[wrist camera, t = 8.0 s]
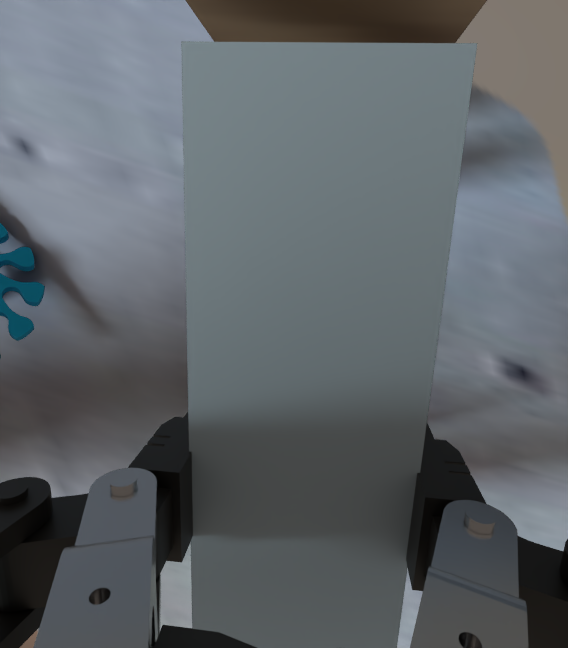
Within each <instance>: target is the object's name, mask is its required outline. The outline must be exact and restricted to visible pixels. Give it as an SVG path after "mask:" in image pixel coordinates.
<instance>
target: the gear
mask: <svg viewBox="0 0 568 648" xmlns="http://www.w3.org/2000/svg"><path fill="white" fill-rule="evenodd" d="M8 238H9V237H8V232H7V230H6V228H5V227H4V226H3V225H2V224H1V223H0V244H1V243H4V242H6V241H7V240H8ZM4 265H12V266H14V267H16V268H18V269H19V270H22V271H31V270H33V269H34V256H33V253H32V251H31V248H29V247H20V248H18V249H16V250H15V251H12V252H10V253H6V254H0V267H2V266H4ZM44 289H45V286H44V285H43V284H41V283H38V282H18V281H15V280H12V279H10V278H8V277H6V276H4V275H2V274H1V273H0V316H4V317H6V318H7V319H8V320H9V324H8V329H9V333H10V335H11V337H12V338H13V339H15V340H17V341H19V340H21V339H23V338H25V337H26V336H27V335H29V334H30V333H31V332H32V331H33V330H34V325H33V322H32V321H31V320H30V319H28V318H26V317H23V316H20V315H18V314H16V313H15V312H13V311H12V310H11V309H10V308H9V307H8V306H7V304H6V303H5V301H4V300H3V295H4V294H5V293H6V292H8V291H16V292H18V293H19V294H20V295H21V296H22V298H23V299H24V301H25V302H26V303H27V304H29V305H31V306H38V305H39V304H40V302H41V301H42V298H43V295H44ZM0 357H1V355H0Z"/></svg>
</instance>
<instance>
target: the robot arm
mask: <svg viewBox="0 0 568 648" xmlns="http://www.w3.org/2000/svg"><path fill="white" fill-rule="evenodd" d="M192 537H193V504H192V452H189V420H188V413H187V414H186V415H185V417H184V418H181V417H174V418H173V419H171V420H169V421H167V422H166V423H164V424H162V425H161V426H160V427H159V429H158V430H157V431H156V433H155V434H154V437H152V438H151V439H150V440H149V441H148V443H147V445H145V447H144V448H143V449H142V450H141V452H140V453H139V454H138V456H137V457H136V458H135V459H134V461H133V462H132V463H131V464H130V466H129V467H128V468H123V469H118V470H114V471H111V472H109V473H107V474H105V475H103V476H101V477H100V478H98V479H97V480H96V481H95V482H94V483H93V484H92V486H91V488H90V490H89V493H88V494H82V495H75V496H66V497H57V498H52V497H51V488H50V485H49V483H48V482H47V481H45V480H43V479H40V478H35V477H24V478H17V479H12V480H8V481H5V482H2V483H0V648H19V647H20V646H21V645H22V644H23V643H24V642H25V641H26V640H27V639H28V638H29V637H30V636H31V635H32V634H33V633H34V632H35V631H36V630H37V629H38V628H39V631H38V634H37V637H36V641H35V644H34V648H257V647H254V646H252V645H249V644H247V643H245V642H242V641H240V640H237V639H235V638H232V637H230V636H227V635H225V634H222V633H220V632H214V631H206V630H199V629H191V628H183V627H175V626H168V625H163V626H162V628H161V631H160V608H161V575H160V573H161V571H162V569H163V567H164V564H165V562H166V561H175V562H182V561H183V558H184V556H185V553H186V551H187V549H188V546H189V544H190V542H191V539H192ZM406 562H407V566H408V571H409V576H410V581H411V586H412V590H419V591H423V594H422V598H421V602H420V607H419V611H418V615H417V620H416V624H415V628H414V633H413V637H412V641H411V646H410V648H568V539H567V541H566V543H565V547H564V551H559V550H556V549H553V548H550V547H546V546H543V545H540V544H537V543H534V542H531V541H528V540H526V539H523V538H521V537H519V536H517V529H516V527H515V525H514V523H513V522H512V521H511V520H510V519H509V517H507V516H506V515H505V514H504V513H502V512H501V511H499V510H498V509H496V508H494V507H492V506H490V505H487V504H486V502H485V500H484V498H483V496H482V494H481V492H480V491H479V489H478V487H477V485H476V483H475V481H474V479H473V477H472V475H470V471H469V469H468V467H467V466H466V465H465V462H464V460H463V458H462V456H461V454H460V452H459V451H458V450H457V449H456V448H455V447H453V446H452V445H451V444H450V443H448V442H447V441H446V440H435V439H434V437H433V435H432V433H431V430H430V428H429V426H428V424H427V425H426V432H425V440H424V447H423V455H422V462H421V470H420V473H417V479H416V486H415V494H414V502H413V509H412V517H411V524H410V532H409V540H408V547H407V555H406Z"/></svg>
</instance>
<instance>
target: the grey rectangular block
mask: <svg viewBox="0 0 568 648" xmlns="http://www.w3.org/2000/svg"><path fill="white" fill-rule="evenodd" d="M181 47H182V100H183V154H184V207H185V260H186V314H187V367H188V420H189V452H192V504H193V537H192V539H191V580H192V629H199V630H206V631H214V632H220V633H222V634H225V635H227V636H230V637H232V638H235V639H237V640H240V641H242V642H245V643H247V644H249V645H252V646H254V647H257V648H397V642H398V635H399V627H400V620H401V612H402V605H403V597H404V590H405V582H406V575H407V567H408V566H407V562H406V555H407V547H408V540H409V532H410V524H411V517H412V509H413V502H414V494H415V486H416V479H417V473H420V470H421V462H422V455H423V447H424V440H425V432H426V425H427V417H428V410H429V402H430V395H431V387H432V380H433V372H434V365H435V357H436V350H437V342H438V335H439V327H440V320H441V312H442V305H443V297H444V290H445V282H446V275H447V267H448V260H449V252H450V245H451V237H452V229H453V222H454V214H455V207H456V199H457V192H458V184H459V177H460V169H461V162H462V154H463V147H464V139H465V132H466V124H467V117H468V109H469V102H470V94H471V87H472V79H473V72H474V64H475V57H476V49H477V44H476V43H325V42H181Z"/></svg>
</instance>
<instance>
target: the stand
mask: <svg viewBox="0 0 568 648" xmlns="http://www.w3.org/2000/svg"><path fill="white" fill-rule="evenodd" d="M486 1H487V0H186V2H187V3H188V5H189V6H190V7H191V9H192V10H193V12H194V13H195V15H196V16H197V17H198V19H199V20H200V22H201V23H202V25H203V26H204V27H205V29H206V30H207V32H208V33H209V35H210V36H211V37H212V39H213V40H214V42H325V43H455V42H456V41H457V39H458V38H459V37H460V36H461V34H462V33H463V32H464V30H465V29H466V28H467V26H468V25H469V24H470V22H471V21H472V19H473V18H474V17H475V16H476V14H477V13H478V12H479V10H480V9H481V8H482V6H483V5H484V4H485V2H486Z"/></svg>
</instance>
